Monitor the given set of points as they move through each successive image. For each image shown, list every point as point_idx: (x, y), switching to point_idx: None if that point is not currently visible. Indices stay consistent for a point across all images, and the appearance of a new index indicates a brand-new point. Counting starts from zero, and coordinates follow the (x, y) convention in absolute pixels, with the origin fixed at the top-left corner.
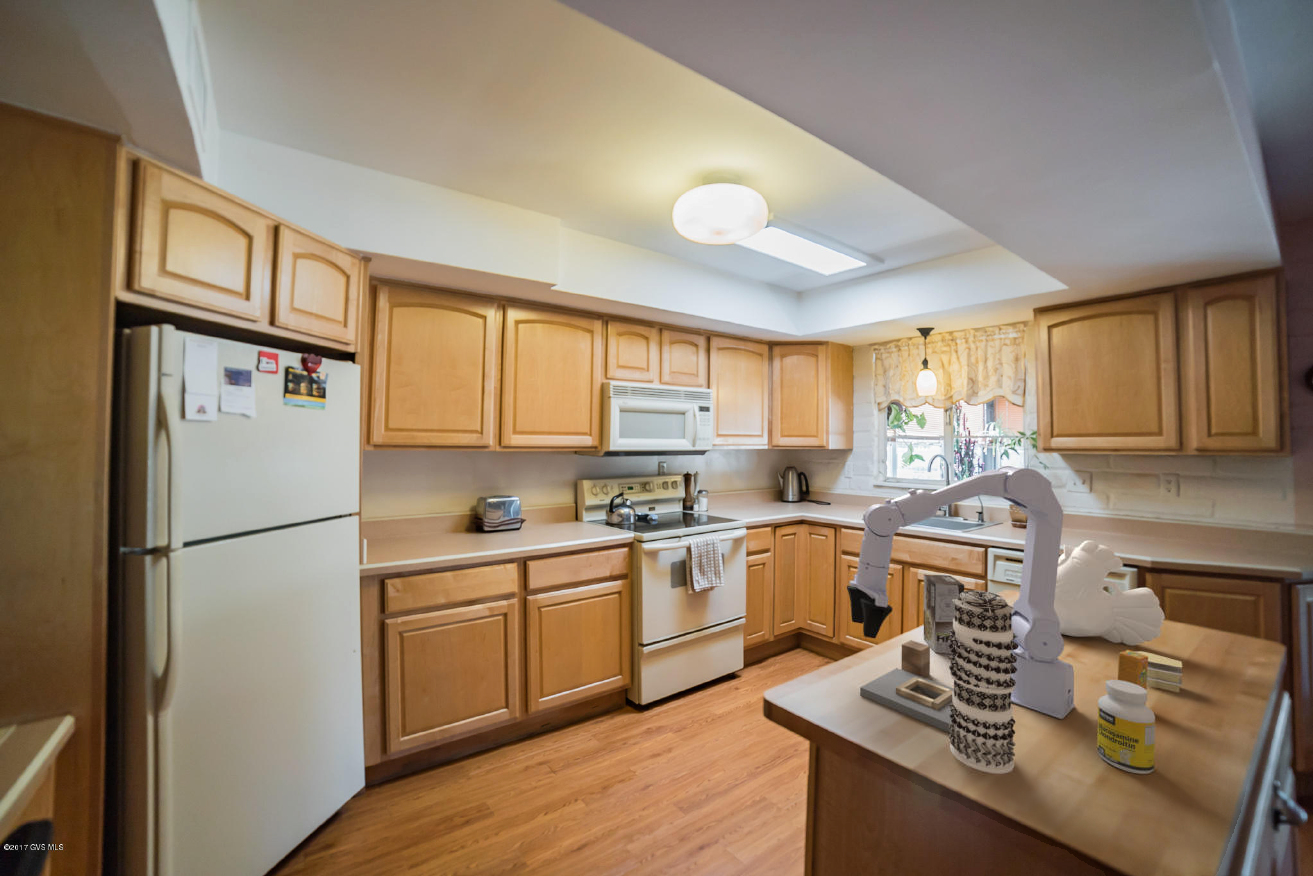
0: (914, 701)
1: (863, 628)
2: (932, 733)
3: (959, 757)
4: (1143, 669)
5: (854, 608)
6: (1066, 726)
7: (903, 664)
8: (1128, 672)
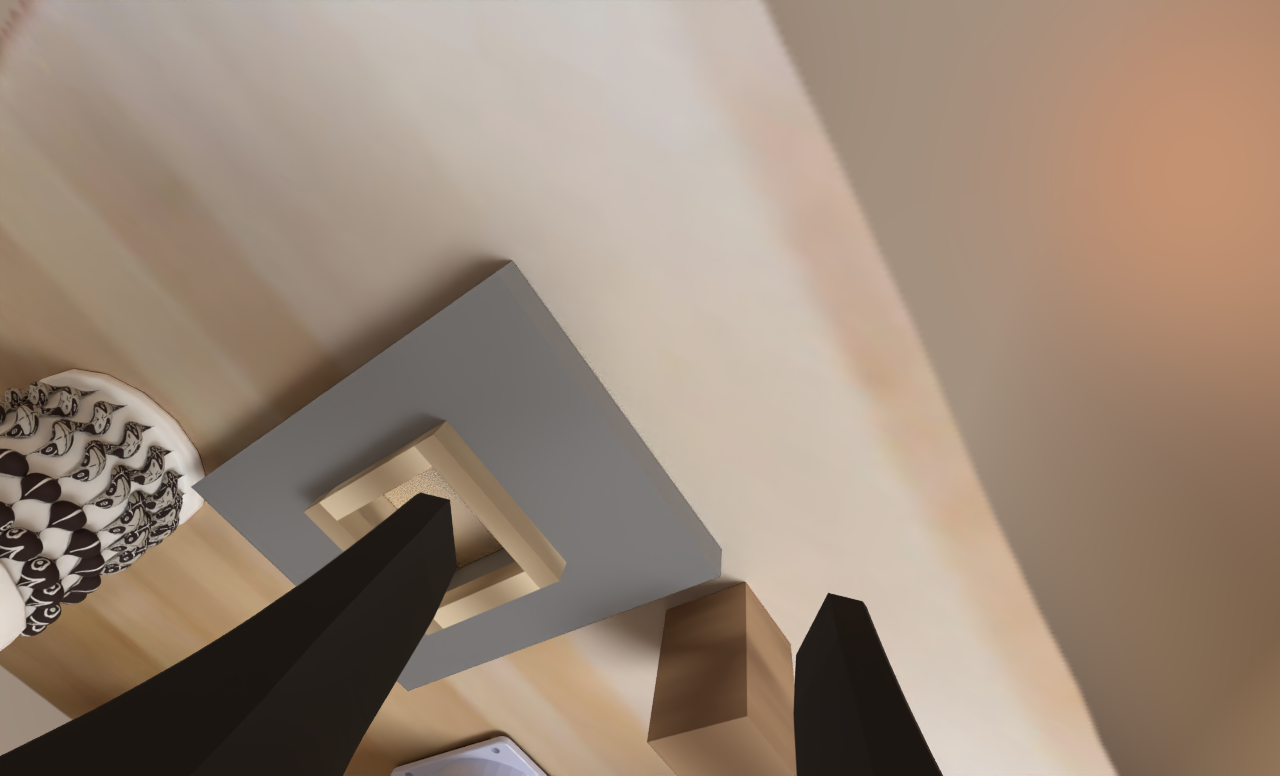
0: (371, 452)
1: (394, 543)
2: (223, 390)
3: (57, 375)
4: None
5: (856, 773)
6: (364, 751)
7: (737, 621)
8: None
